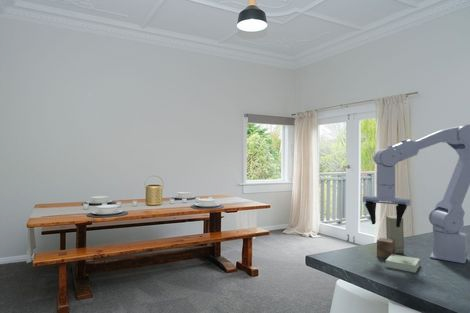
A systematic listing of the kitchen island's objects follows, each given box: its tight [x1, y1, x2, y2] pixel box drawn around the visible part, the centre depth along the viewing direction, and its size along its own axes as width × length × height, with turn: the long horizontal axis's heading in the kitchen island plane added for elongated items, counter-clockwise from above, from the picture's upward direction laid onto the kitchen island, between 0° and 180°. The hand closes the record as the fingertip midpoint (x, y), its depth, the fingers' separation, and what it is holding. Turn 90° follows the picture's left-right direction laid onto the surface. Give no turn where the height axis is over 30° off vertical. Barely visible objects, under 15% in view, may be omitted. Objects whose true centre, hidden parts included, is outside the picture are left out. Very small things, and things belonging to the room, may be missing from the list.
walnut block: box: [376, 237, 396, 259], centre depth 108 cm, size 5×5×6 cm
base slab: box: [385, 254, 421, 273], centre depth 99 cm, size 8×8×2 cm
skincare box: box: [385, 215, 405, 254], centre depth 115 cm, size 6×4×12 cm
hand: (385, 225), depth 108 cm, fingers open, 7 cm apart
